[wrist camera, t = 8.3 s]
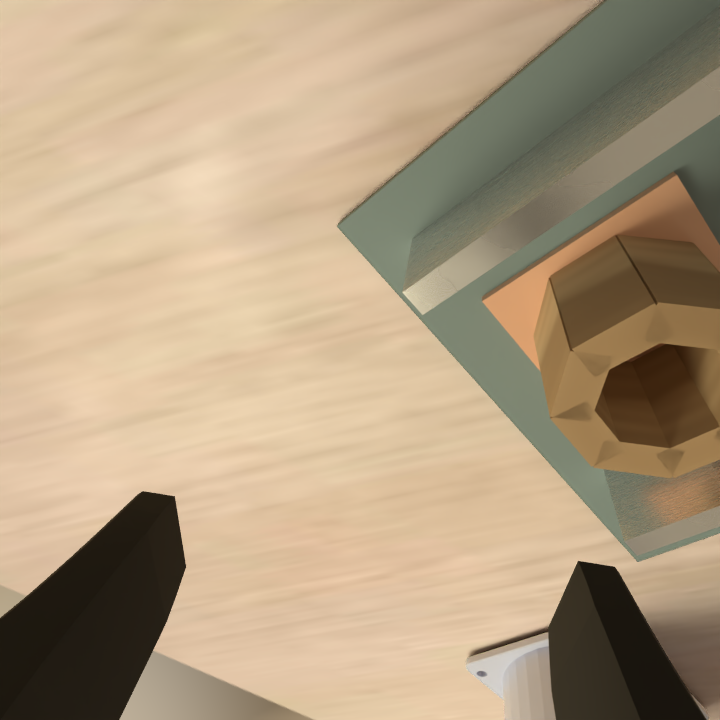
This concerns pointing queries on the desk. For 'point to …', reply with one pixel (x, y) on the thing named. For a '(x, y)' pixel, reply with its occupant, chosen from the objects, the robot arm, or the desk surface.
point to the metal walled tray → (563, 198)
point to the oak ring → (626, 340)
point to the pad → (634, 218)
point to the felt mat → (496, 152)
